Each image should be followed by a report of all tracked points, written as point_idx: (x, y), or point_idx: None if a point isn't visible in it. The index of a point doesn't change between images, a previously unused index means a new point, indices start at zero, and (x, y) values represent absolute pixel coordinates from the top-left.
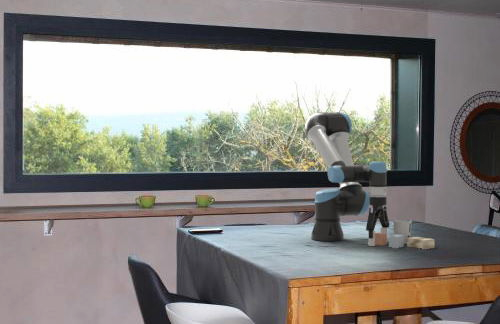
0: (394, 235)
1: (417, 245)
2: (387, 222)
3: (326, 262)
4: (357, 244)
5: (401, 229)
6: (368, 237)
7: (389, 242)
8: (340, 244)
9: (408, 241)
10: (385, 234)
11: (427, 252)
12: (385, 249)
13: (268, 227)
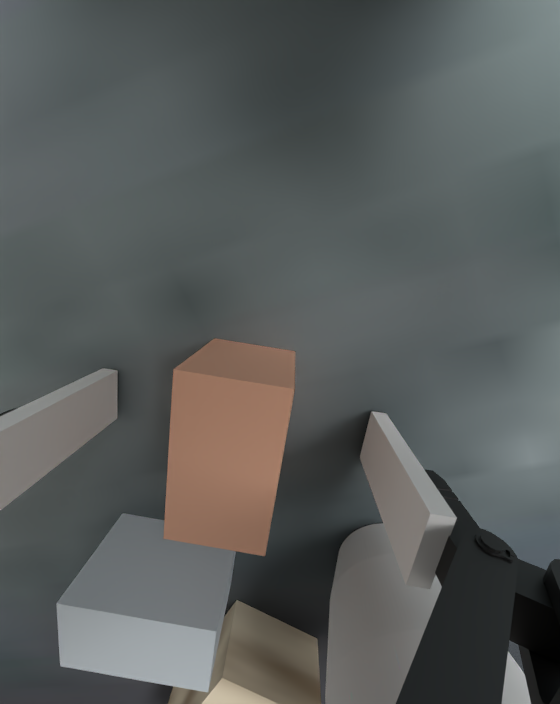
0: (135, 635)
1: None
2: (533, 694)
3: None
4: (143, 249)
5: None
6: (43, 396)
7: (97, 550)
8: (48, 70)
9: (223, 651)
10: (228, 541)
11: (70, 700)
12: (28, 508)
13: None
